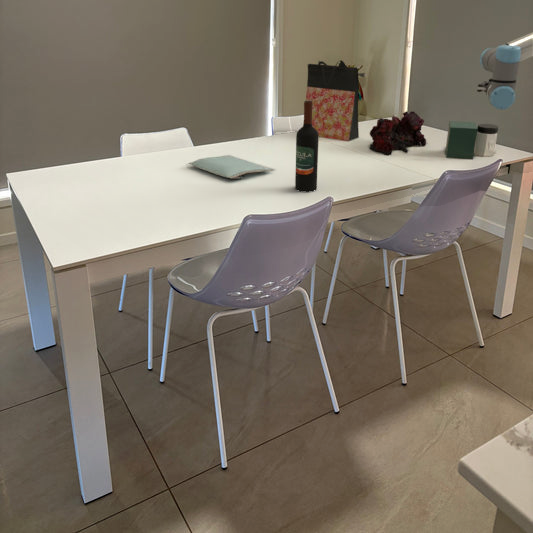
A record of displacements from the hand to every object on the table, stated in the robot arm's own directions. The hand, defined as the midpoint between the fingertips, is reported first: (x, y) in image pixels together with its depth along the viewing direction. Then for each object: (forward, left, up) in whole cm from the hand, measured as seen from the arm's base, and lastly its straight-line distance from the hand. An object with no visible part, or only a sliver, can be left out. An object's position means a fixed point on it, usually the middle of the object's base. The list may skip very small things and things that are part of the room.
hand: (491, 82), depth 224 cm
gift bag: (+34, +64, -32) cm, 79 cm away
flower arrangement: (+20, +34, -32) cm, 51 cm away
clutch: (-34, +95, -32) cm, 106 cm away
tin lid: (+13, +7, -20) cm, 25 cm away
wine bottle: (-50, +62, -32) cm, 85 cm away
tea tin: (+12, +7, -32) cm, 35 cm away
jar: (+16, -3, -32) cm, 36 cm away
